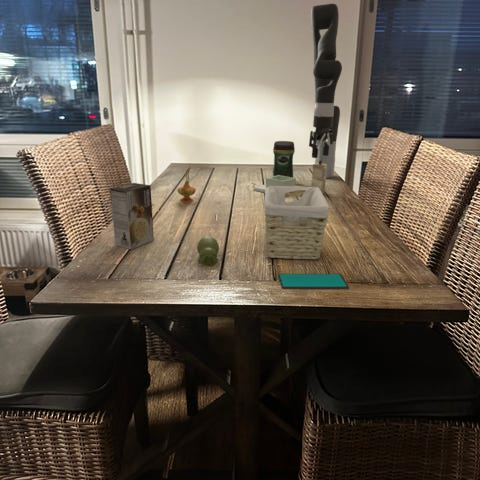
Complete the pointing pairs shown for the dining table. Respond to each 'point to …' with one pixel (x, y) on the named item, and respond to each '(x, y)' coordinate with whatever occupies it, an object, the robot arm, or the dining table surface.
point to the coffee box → (132, 215)
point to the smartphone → (312, 281)
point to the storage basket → (294, 222)
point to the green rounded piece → (208, 251)
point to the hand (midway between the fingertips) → (320, 156)
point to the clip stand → (277, 182)
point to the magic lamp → (186, 190)
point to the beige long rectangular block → (319, 175)
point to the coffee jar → (283, 158)
